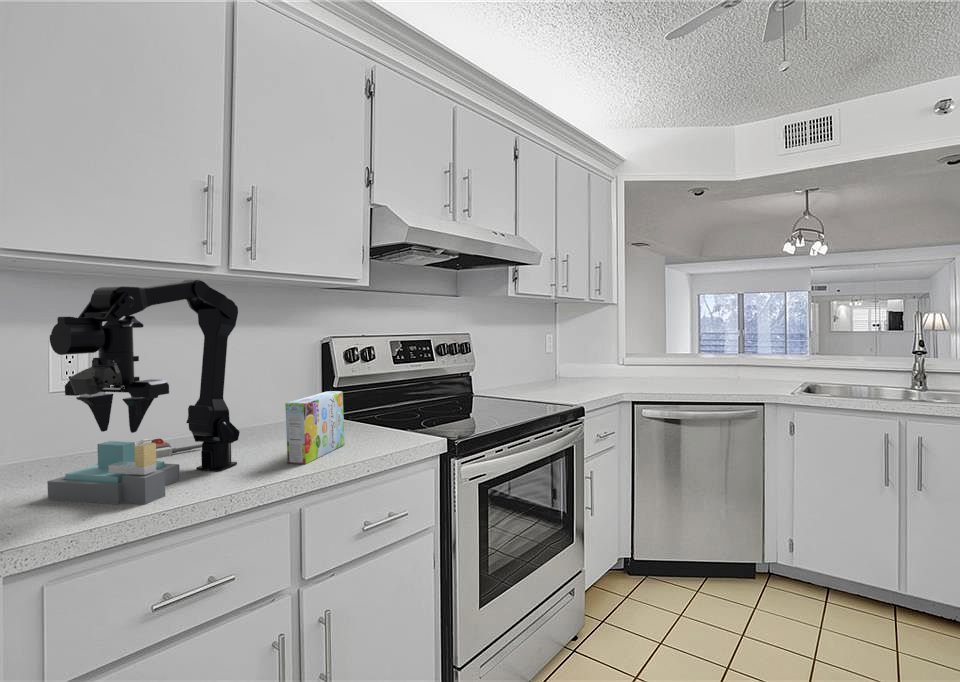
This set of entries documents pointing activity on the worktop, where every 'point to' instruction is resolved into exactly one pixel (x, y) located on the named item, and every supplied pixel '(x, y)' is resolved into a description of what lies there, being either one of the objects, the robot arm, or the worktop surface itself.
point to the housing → (116, 488)
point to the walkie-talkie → (166, 447)
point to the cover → (108, 463)
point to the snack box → (314, 426)
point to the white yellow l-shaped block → (138, 461)
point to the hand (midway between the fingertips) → (118, 431)
